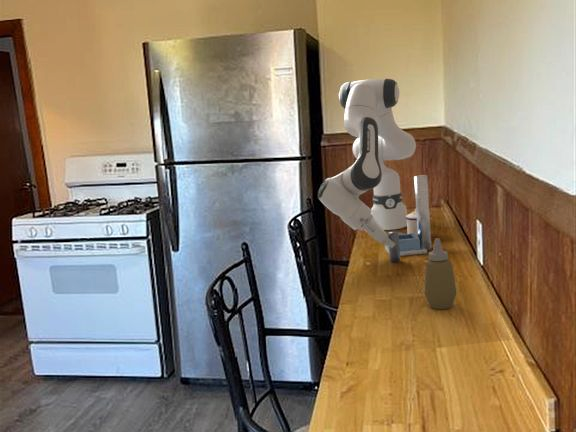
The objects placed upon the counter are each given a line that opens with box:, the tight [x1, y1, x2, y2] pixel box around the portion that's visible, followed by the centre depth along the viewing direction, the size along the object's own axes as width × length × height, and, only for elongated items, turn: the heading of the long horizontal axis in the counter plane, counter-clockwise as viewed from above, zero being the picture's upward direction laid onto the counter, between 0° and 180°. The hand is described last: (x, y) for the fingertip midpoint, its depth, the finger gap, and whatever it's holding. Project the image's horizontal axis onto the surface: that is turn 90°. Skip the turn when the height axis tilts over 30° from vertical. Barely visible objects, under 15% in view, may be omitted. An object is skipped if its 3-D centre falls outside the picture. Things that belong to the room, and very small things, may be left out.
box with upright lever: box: [384, 174, 432, 257], centre depth 212 cm, size 18×15×26 cm
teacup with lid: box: [406, 208, 432, 236], centre depth 227 cm, size 12×9×12 cm
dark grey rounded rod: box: [387, 230, 401, 264], centre depth 199 cm, size 3×3×10 cm
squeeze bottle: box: [424, 237, 457, 310], centre depth 153 cm, size 8×8×18 cm
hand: (390, 242), depth 199 cm, fingers open, 8 cm apart
